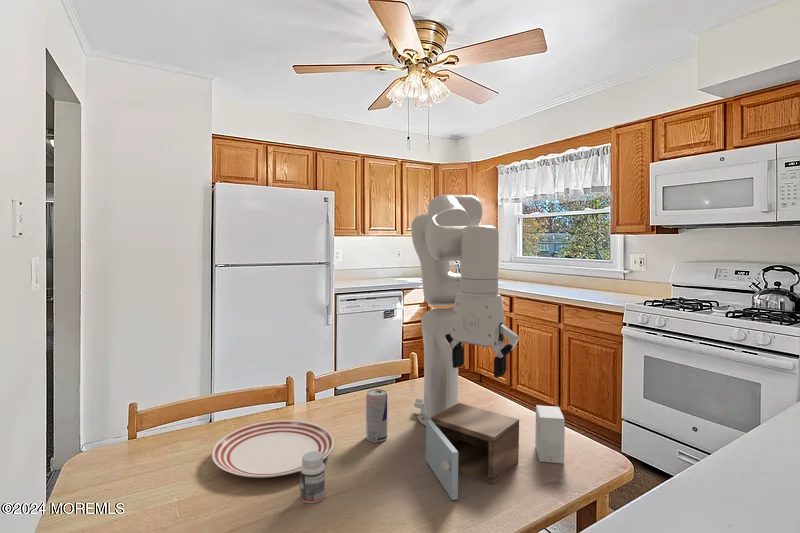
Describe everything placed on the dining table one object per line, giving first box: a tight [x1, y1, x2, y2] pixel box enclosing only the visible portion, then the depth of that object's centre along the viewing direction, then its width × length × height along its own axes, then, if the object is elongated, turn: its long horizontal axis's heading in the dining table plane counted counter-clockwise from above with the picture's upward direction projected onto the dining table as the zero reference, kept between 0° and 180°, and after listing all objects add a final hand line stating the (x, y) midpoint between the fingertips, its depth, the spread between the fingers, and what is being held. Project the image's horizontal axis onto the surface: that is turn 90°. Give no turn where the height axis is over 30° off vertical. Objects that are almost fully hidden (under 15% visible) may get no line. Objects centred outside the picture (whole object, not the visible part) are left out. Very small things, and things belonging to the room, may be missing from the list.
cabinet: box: [431, 402, 520, 485], centre depth 100 cm, size 16×12×10 cm
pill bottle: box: [299, 451, 326, 504], centre depth 86 cm, size 5×5×8 cm
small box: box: [534, 404, 566, 465], centre depth 103 cm, size 8×6×10 cm
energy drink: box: [365, 388, 388, 444], centre depth 111 cm, size 5×5×12 cm
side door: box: [425, 420, 459, 501], centre depth 92 cm, size 16×3×9 cm, turn 15°
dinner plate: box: [211, 419, 335, 479], centre depth 102 cm, size 27×27×3 cm
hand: (478, 371), depth 89 cm, fingers open, 9 cm apart
